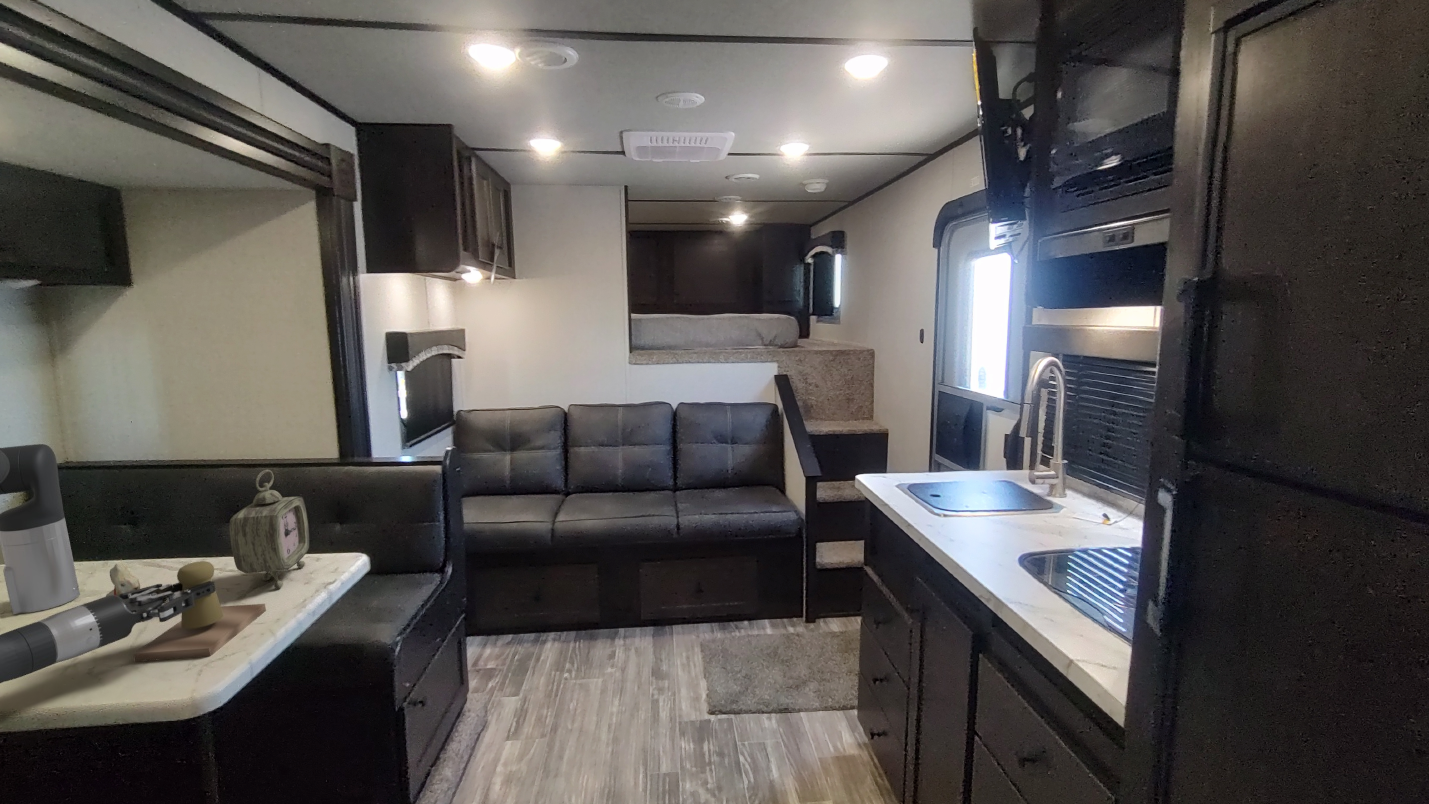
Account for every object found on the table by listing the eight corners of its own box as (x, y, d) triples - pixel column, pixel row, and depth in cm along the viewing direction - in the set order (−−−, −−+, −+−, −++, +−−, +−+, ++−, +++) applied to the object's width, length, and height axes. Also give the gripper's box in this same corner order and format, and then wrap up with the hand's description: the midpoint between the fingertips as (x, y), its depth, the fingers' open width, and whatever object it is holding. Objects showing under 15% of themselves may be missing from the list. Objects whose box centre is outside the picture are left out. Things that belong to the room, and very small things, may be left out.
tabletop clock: (284, 591, 130) (268, 478, 126) (236, 596, 129) (218, 481, 124) (313, 563, 144) (300, 461, 140) (270, 567, 143) (255, 463, 138)
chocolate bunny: (107, 621, 119) (98, 572, 118) (102, 608, 124) (93, 562, 123) (145, 610, 123) (137, 563, 122) (139, 598, 128) (131, 553, 127)
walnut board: (210, 656, 107) (208, 648, 106) (134, 661, 105) (133, 653, 105) (266, 610, 122) (265, 603, 122) (201, 614, 121) (199, 607, 121)
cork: (176, 631, 109) (167, 573, 108) (186, 617, 114) (178, 561, 113) (219, 623, 112) (211, 566, 110) (226, 609, 117) (219, 555, 116)
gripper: (104, 614, 95) (227, 570, 110) (56, 599, 100) (179, 559, 116) (112, 659, 96) (232, 609, 111) (64, 641, 101) (185, 596, 117)
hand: (205, 584), depth 113 cm, fingers closed on cork, 4 cm apart
